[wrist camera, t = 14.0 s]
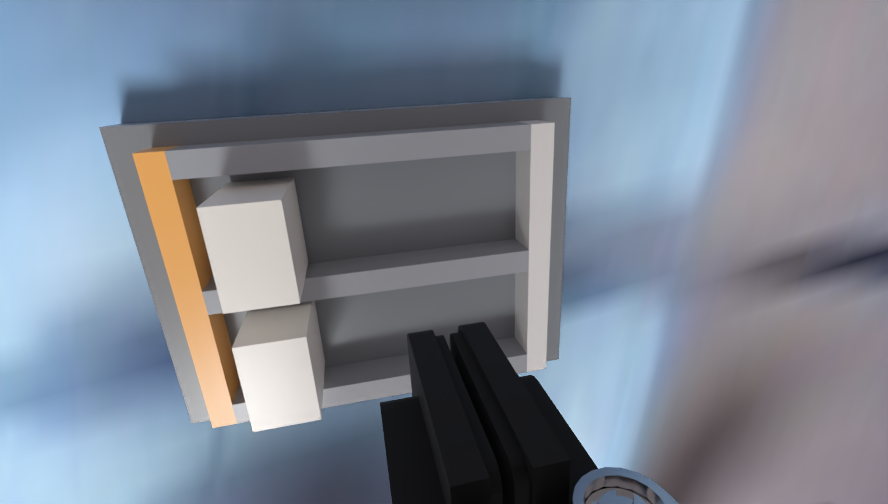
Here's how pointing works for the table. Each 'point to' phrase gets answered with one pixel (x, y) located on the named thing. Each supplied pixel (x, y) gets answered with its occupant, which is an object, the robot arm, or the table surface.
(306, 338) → the tab
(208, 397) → the switch board
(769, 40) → the table surface
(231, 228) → the tab
